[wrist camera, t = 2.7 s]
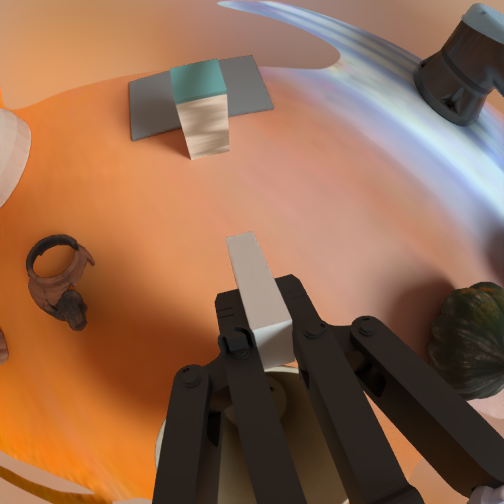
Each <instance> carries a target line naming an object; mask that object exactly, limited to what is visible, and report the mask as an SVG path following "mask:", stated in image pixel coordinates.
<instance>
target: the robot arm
mask: <svg viewBox="0 0 504 504" xmlns="http://www.w3.org/2000/svg"><path fill="white" fill-rule="evenodd" d="M461 18H462V20H461V21H460V23H459V24H458V26H457V27H456V29H455V30H454V31H453V33H452V34H451V36H450V37H449V38H448V40H447V41H446V43H445V44H444V46H443V47H442V48H441V50H440V51H438V52H437V53H435V54H433V55H432V56H430V57H428V58H427V59H425V60H423V61H422V62H421V63H420V64H419V65H418V67H417V68H416V70H415V71H414V81H415V84H416V86H417V88H418V90H419V92H420V93H421V95H422V96H423V97H424V99H425V100H426V101H427V102H428V103H429V105H430V106H431V107H432V108H433V109H434V110H435V111H437V112H438V113H439V114H440V115H441V116H443V117H444V118H446V119H447V120H449V121H450V122H452V123H455V124H457V125H460V126H468V125H471V124H472V123H473V122H474V121H475V120H476V119H477V118H478V116H479V114H480V112H481V110H482V107H483V105H484V102H485V100H486V97H487V95H488V94H489V93H490V92H491V91H492V90H493V89H496V90H498V92H499V93H500V94H501V95H502V96H503V97H504V15H502V14H501V13H500V12H498V11H496V10H494V9H493V8H491V7H489V6H486V5H484V4H480V3H476V4H473V5H472V6H471V7H470V8H469V10H468V11H467V12H466V14H464V15H462V17H461ZM225 239H226V243H227V248H228V252H229V256H230V260H231V264H232V269H233V273H234V277H235V281H236V284H237V288H238V289H235V290H231V291H227V292H223V293H219V294H217V297H216V300H215V308H216V314H217V319H218V325H219V330H220V335H219V337H218V345H219V348H220V350H221V353H220V354H219V356H218V357H217V358H216V359H215V360H214V361H212V362H211V363H209V364H207V365H205V366H203V367H201V366H200V365H194V364H193V365H187V366H185V367H183V368H181V369H180V370H179V371H178V372H177V373H176V376H175V378H174V382H173V386H172V391H171V396H170V401H169V406H168V412H167V417H166V422H165V427H164V433H163V438H162V444H161V450H160V456H159V462H158V468H157V474H156V480H155V487H154V494H153V501H152V504H218V490H219V476H220V463H221V450H222V437H223V424H224V412H225V409H226V408H228V407H230V406H231V405H233V408H234V413H235V417H236V422H237V426H238V430H239V435H240V439H241V443H242V447H243V452H244V456H245V460H246V464H247V468H248V472H249V476H250V480H251V484H252V487H253V491H254V495H255V499H256V502H257V504H307V501H306V498H305V495H304V493H303V490H302V487H301V484H300V481H299V478H298V475H297V472H296V469H295V466H294V463H293V460H292V456H291V453H290V450H289V447H288V444H287V441H286V438H285V435H284V432H283V429H282V426H281V422H280V419H279V416H278V413H277V410H276V407H275V403H274V400H273V397H272V394H271V391H270V387H269V384H268V381H267V378H266V374H265V371H264V370H266V369H270V368H273V367H277V366H281V365H284V364H288V363H291V362H294V361H295V358H296V360H297V363H298V370H299V381H301V380H302V381H303V384H304V386H305V389H306V391H307V394H308V397H309V399H310V402H311V404H312V407H313V410H314V412H315V415H316V417H317V420H318V422H319V425H320V428H321V430H322V433H323V435H324V438H325V441H326V443H327V446H328V448H329V451H330V453H331V456H332V459H333V461H334V464H335V466H336V469H337V472H338V474H339V477H340V479H341V482H342V484H343V487H344V490H345V492H346V495H347V497H348V500H349V503H350V504H425V503H424V501H423V498H422V497H421V495H420V493H419V492H418V490H417V489H416V488H415V487H413V486H412V485H410V484H409V483H408V482H407V480H406V478H405V476H404V474H403V472H402V469H401V467H400V465H399V463H398V461H397V459H396V457H395V455H394V453H393V450H392V448H391V446H390V444H389V442H388V440H387V438H386V436H385V434H384V432H383V430H382V428H381V426H380V424H379V422H378V420H377V418H376V416H375V414H374V412H373V410H372V408H371V406H370V404H369V402H368V400H367V398H366V396H365V394H364V392H365V393H366V394H367V395H368V396H369V397H370V398H371V400H372V401H373V402H374V403H375V404H376V405H377V406H378V407H379V408H380V410H381V411H382V412H383V413H384V414H385V415H386V416H387V417H388V418H389V420H390V421H391V422H392V423H393V424H394V425H395V426H396V427H397V428H398V430H399V431H400V432H401V433H402V434H403V435H404V436H405V437H406V438H407V440H408V441H409V442H410V443H411V444H412V445H413V446H414V447H415V448H416V449H417V451H418V452H419V453H420V454H421V455H422V456H423V457H424V458H425V459H426V460H427V461H428V463H429V464H430V465H431V466H432V467H433V468H434V469H435V470H436V471H437V472H438V474H439V475H440V476H441V477H442V478H443V479H444V480H445V481H446V482H447V483H448V484H449V485H450V486H451V487H452V488H453V489H454V490H456V491H457V492H458V493H460V494H461V495H463V496H465V497H467V498H469V501H468V502H467V504H504V439H503V438H502V436H500V435H499V433H498V432H496V430H495V429H494V428H493V427H492V426H491V425H490V424H489V423H488V422H487V421H486V420H485V419H484V418H483V417H482V416H481V415H480V414H479V413H478V412H477V411H476V410H475V409H474V408H473V407H472V406H471V405H470V404H469V403H467V402H466V401H465V400H464V399H463V398H462V397H461V396H460V395H459V394H458V393H457V392H456V391H455V390H454V389H453V388H452V387H451V386H450V385H449V384H448V383H447V382H446V381H445V380H444V379H443V378H442V377H440V376H439V375H438V374H437V373H436V372H435V371H434V370H433V369H432V368H431V367H430V366H429V365H428V364H427V363H426V362H425V361H423V360H422V359H421V358H420V357H419V356H418V355H417V354H416V353H415V352H414V351H413V350H412V349H411V348H409V347H408V346H407V345H406V344H405V343H404V342H403V341H402V340H401V339H400V338H399V337H397V336H396V335H395V334H394V333H393V332H392V331H391V330H390V329H389V328H387V327H386V326H385V325H384V324H383V323H382V322H381V321H380V320H378V319H377V318H375V317H372V316H361V317H359V318H356V319H355V320H354V321H353V322H352V325H349V326H333V325H329V324H327V323H326V322H325V321H323V320H321V318H320V317H319V315H318V313H317V311H316V310H315V308H314V306H313V304H312V302H311V300H310V298H309V296H308V295H307V293H306V291H305V289H304V287H303V285H302V283H301V282H300V280H299V279H298V278H296V277H295V276H294V275H292V274H290V275H287V276H283V277H279V278H275V279H274V278H273V275H272V273H271V271H270V268H269V266H268V264H267V262H266V259H265V257H264V255H263V253H262V250H261V248H260V246H259V244H258V241H257V239H256V237H255V235H254V232H253V231H251V232H247V233H242V234H238V235H234V236H230V237H226V238H225ZM362 389H363V390H362ZM363 391H364V392H363Z"/></svg>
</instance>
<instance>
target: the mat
mask: <svg viewBox="0 0 504 504" xmlns="http://www.w3.org/2000/svg"><path fill="white" fill-rule="evenodd" d="M218 63H219V67H220V70H221V73H222V76H223V79H224V83H225V86H226V89H227V107H228V117H232V116H237V115H243V114H248V113H254V112H260V111H267V110H274V106H273V104H272V101H271V99H270V96H269V94H268V92H267V89H266V87H265V84H264V82H263V79H262V77H261V75H260V72H259V70H258V67H257V65H256V63H255V61H254V58H253V56H252V55H250V56H243V57H236V58H229V59H223V60H218ZM129 92H130V117H131V134H132V140H133V141H136V140H139V139H142V138H145V137H149V136H152V135H156V134H159V133H163V132H167V131H170V130H174V129H178V128H182V125H181V122H180V118H179V115H178V111H177V108H176V104H175V100H174V94H173V87H172V81H171V74H170V71H166V72H163V73H159V74H155V75H152V76H148V77H145V78H141V79H138V80H135V81H132V82H129Z"/></svg>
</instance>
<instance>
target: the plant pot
mask: <svg viewBox="0 0 504 504" xmlns="http://www.w3.org/2000/svg"><path fill="white" fill-rule="evenodd" d="M264 371H265V374H266V378H267V381H268V384H269V387H273V389H272V390H270V391H271V394H272V397H273V400H274V403H275V407H276V410H277V413H278V416H279V419H280V422H281V426H282V429H283V432H284V435H285V438H286V441H287V444H288V447H289V450H290V453H291V456H292V460H293V463H294V466H295V469H296V472H297V475H298V478H299V481H300V484H301V487H302V490H303V493H304V495H305V498H306V501H307V504H346V503H347V502H348V501H349V500H348V497H347V495H346V492H345V490H344V487H343V484H342V482H341V479H340V477H339V474H338V472H337V469H336V466H335V464H334V461H333V459H332V456H331V453H330V451H329V448H328V446H327V443H326V441H325V438H324V435H323V433H322V430H321V428H320V425H319V422H318V420H317V417H316V415H315V412H314V410H313V407H312V404H311V402H310V399H309V397H308V394H307V391H306V389H305V386H304V384H303V381H302V380H301V381H299V370H298V368H295V367H291V366H286V365H281V366H277V367H273V368H270V369H266V370H264ZM165 422H166V419H165V420H164V422H163V424H162V426H161V428H160V431H159V434H158V437H157V441H156V446H155V465H156V471H157V468H158V462H159V456H160V450H161V444H162V438H163V433H164V427H165ZM218 504H257V502H256V499H255V495H254V491H253V487H252V484H251V480H250V476H249V472H248V468H247V464H246V460H245V456H244V452H243V447H242V443H241V439H240V435H239V430H238V426H237V422H236V417H235V413H234V408H233V405H231V406H230V407H228V408H226V409H225V412H224V424H223V437H222V450H221V463H220V476H219V490H218Z"/></svg>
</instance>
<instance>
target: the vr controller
mask: <svg viewBox="0 0 504 504" xmlns="http://www.w3.org/2000/svg"><path fill="white" fill-rule="evenodd" d="M56 245H69V246H71V247H72V248H73V249H75V250H76V252H75V253H74V258H73V261H72V263H71V264H70V265H69V267H68V268H67V269H66V270H65V271H64V272H62V273H61V274H59V275H57V276H54V277H49V278H45V277H40V276H38V275H37V274H35V272H34V270H33V264H34V261H35V259H36V257H37V256H38V255H40V256H41V255H42V254H43V253H44V251H46V250H47V249H49V248H51V247H54V246H56ZM87 260H88V261H89V262H90V263H91V265H92V266H94V265H95V262H94V260H93V259H92V257H91V255H90V254H89V252H88V251H87V250H86V249H85V248H84V247H82V246H80V245H79V244H77V241H76V240H75V239H74V238H72V237H70V236H67V235H51V236H49V237H46V238H44V239H42V240H41V241H39V242H38V243H37V244H36V245H35V246H34V247H33V248H32V249H31V251H30V252H29V254H28V256H27V260H26V269H27V271H28V276H29V277H30V279H29V283H28V284H29V285H28V287H29V291H30V294H31V296H32V298H33V299H34V300H35V303H36V304H37V305H38V306H39V307H40V308H41V309H42V310H44V311H45V312H46V313H48V314H50V315H52V316H53V317H55V318H56V319H59V320H62V321H68V323H69V325H70V327H71V328H72V329H73V330H75V331H77V330H83V328H85V327H86V324H87V320H86V317H85V312H86V310H87V305H86V304H85V303H84V302H83V299H82V298H81V295H80V294H79V293H78V292H76V291H75V290H68V291H67V289H68V287H69V285H70V284H71V285H73V286H76V285H77V283H78V281H79V279H80V277H81V276H82V274H83V271H84V268H85V266H86V262H87ZM54 306H56V307H57V308H58V309H56V308H55V307H54Z"/></svg>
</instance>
